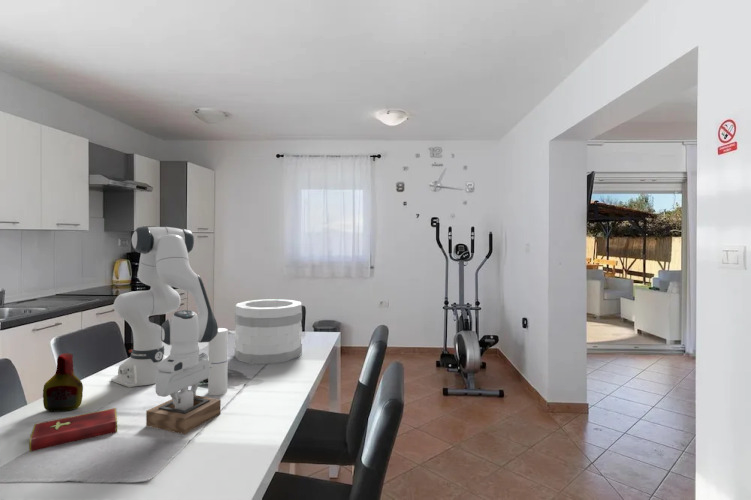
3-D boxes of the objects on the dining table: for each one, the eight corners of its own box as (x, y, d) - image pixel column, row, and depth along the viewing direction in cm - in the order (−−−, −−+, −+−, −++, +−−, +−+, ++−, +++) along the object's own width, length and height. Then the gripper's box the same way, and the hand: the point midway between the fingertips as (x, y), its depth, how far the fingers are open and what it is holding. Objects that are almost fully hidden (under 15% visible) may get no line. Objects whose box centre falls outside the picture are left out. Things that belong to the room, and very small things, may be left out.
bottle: (87, 405, 144) (87, 350, 144) (75, 412, 138) (75, 356, 137) (51, 406, 143) (51, 351, 142) (38, 414, 136) (38, 356, 136)
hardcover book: (117, 433, 124) (117, 420, 124) (29, 453, 112) (29, 439, 112) (115, 419, 134) (115, 407, 134) (34, 436, 122) (34, 422, 122)
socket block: (146, 425, 129) (146, 409, 129) (184, 406, 144) (184, 391, 144) (184, 434, 123) (184, 417, 123) (220, 413, 139) (220, 398, 138)
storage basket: (294, 364, 195) (294, 309, 194) (223, 363, 195) (224, 308, 195) (307, 346, 230) (307, 299, 229) (247, 345, 230) (248, 298, 230)
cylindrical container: (220, 396, 154) (221, 332, 154) (204, 394, 156) (204, 331, 155) (230, 389, 161) (231, 328, 161) (215, 387, 163) (215, 327, 162)
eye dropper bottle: (176, 413, 135) (177, 378, 135) (194, 412, 136) (194, 377, 136) (173, 418, 130) (173, 382, 130) (191, 417, 132) (191, 381, 131)
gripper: (200, 350, 144) (200, 388, 144) (152, 366, 125) (151, 410, 125) (214, 352, 142) (214, 390, 142) (167, 369, 122) (167, 413, 123)
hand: (184, 400), depth 133 cm, fingers open, 5 cm apart
